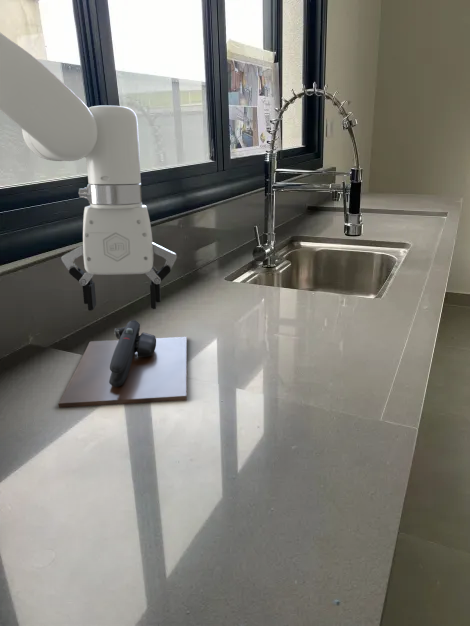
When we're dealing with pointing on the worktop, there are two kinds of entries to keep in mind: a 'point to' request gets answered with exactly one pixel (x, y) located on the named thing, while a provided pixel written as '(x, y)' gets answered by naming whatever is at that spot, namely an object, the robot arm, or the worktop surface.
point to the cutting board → (129, 376)
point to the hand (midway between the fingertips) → (123, 307)
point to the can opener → (129, 350)
